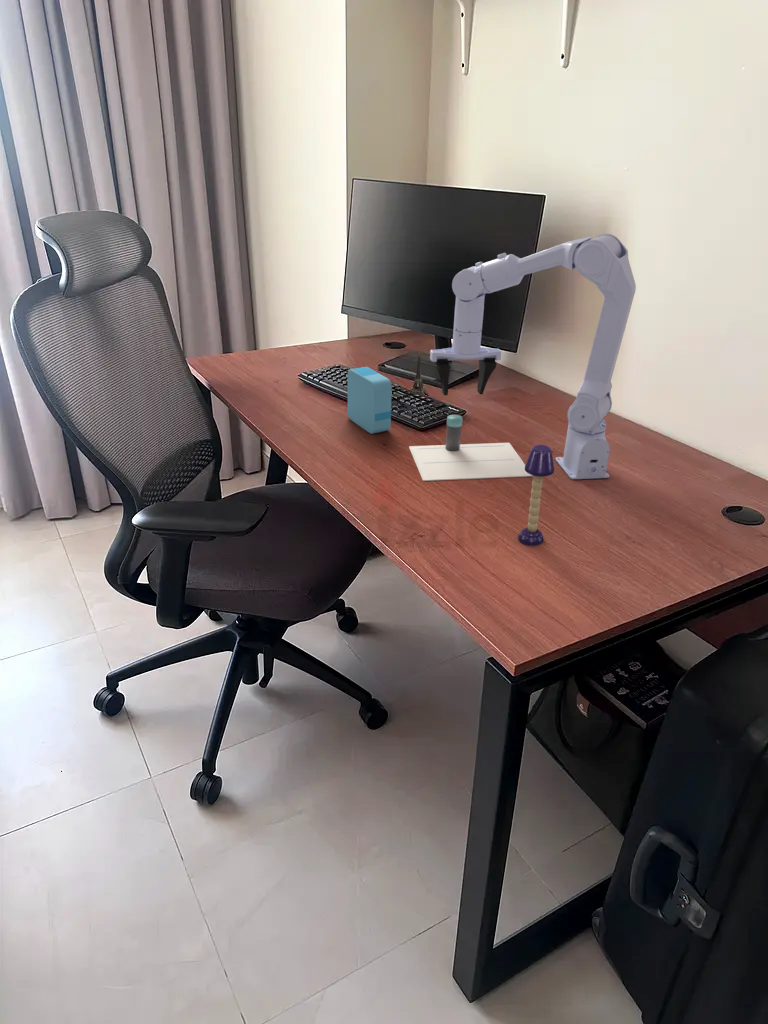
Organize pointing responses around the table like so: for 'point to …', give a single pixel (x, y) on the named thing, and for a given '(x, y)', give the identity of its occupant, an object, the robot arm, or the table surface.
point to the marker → (453, 432)
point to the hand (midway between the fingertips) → (462, 393)
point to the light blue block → (369, 399)
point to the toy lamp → (536, 491)
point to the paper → (468, 462)
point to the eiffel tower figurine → (419, 380)
